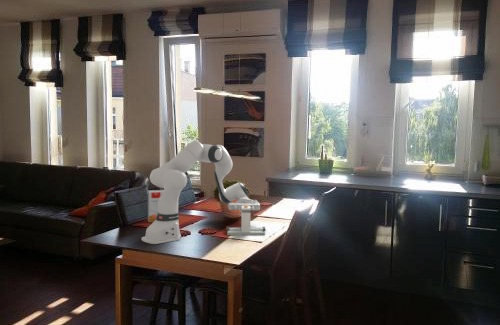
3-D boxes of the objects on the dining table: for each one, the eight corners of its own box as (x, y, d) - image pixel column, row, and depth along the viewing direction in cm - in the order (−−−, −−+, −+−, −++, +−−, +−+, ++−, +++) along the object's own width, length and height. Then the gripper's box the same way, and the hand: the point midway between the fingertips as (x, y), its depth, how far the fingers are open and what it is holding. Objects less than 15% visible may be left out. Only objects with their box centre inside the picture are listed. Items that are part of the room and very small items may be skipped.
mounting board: (227, 234, 252) (227, 232, 252) (227, 230, 262) (227, 228, 262) (265, 234, 253) (265, 232, 253) (263, 230, 263) (263, 228, 263)
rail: (226, 231, 254) (226, 228, 254) (226, 229, 259) (226, 226, 259) (265, 231, 256) (265, 228, 256) (264, 229, 261) (264, 226, 261)
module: (241, 228, 261) (241, 204, 259) (249, 228, 261) (250, 204, 260) (241, 231, 254) (242, 206, 252) (250, 231, 254) (250, 207, 253)
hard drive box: (148, 222, 278) (147, 192, 276) (147, 220, 286) (147, 190, 284) (172, 221, 283) (172, 191, 281) (171, 218, 290) (171, 189, 288)
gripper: (227, 199, 281) (228, 203, 267) (259, 200, 282) (260, 204, 269) (227, 209, 282) (227, 213, 268) (259, 209, 283) (260, 214, 269)
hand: (244, 208), depth 268 cm, fingers open, 8 cm apart
